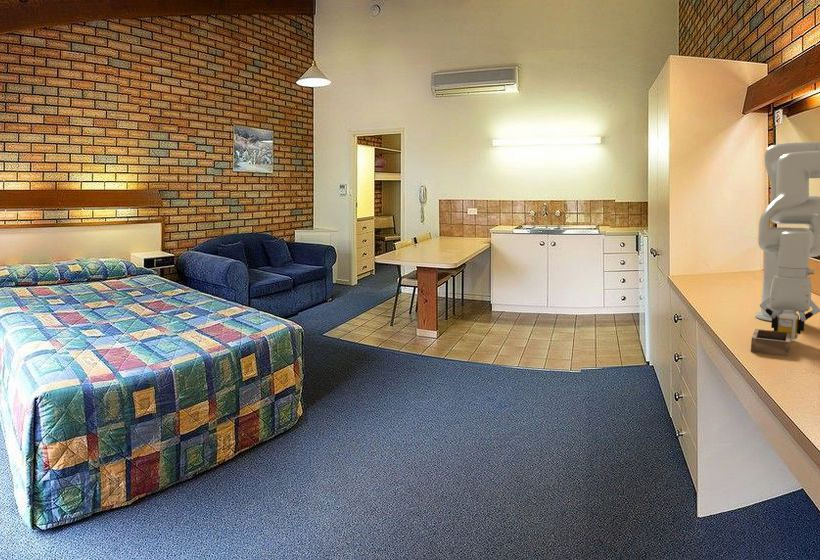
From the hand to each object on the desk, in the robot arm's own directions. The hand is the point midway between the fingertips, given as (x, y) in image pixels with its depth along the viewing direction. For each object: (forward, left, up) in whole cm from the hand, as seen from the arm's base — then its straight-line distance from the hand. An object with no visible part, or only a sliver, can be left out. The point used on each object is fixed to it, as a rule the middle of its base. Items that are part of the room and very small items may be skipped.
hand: (787, 331), depth 168 cm
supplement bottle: (0, 0, -2) cm, 2 cm away
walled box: (+12, -3, -3) cm, 13 cm away
